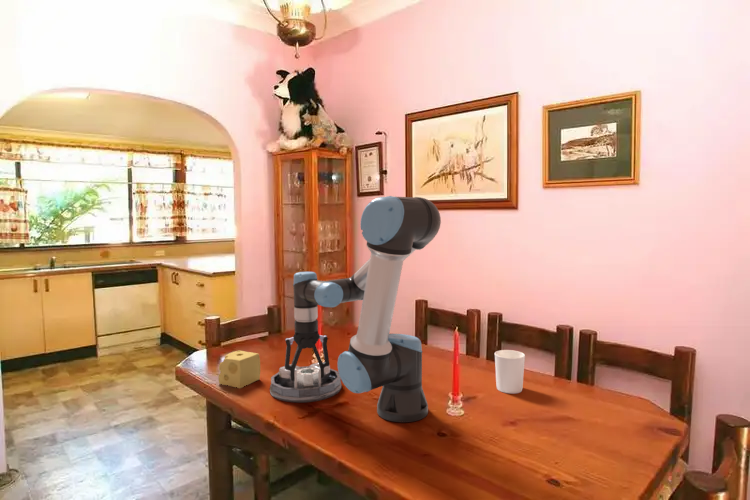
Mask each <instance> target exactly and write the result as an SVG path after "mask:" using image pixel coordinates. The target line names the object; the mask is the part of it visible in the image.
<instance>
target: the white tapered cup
mask: <svg viewBox="0 0 750 500" xmlns="http://www.w3.org/2000/svg"><path fill="white" fill-rule="evenodd" d="M525 359H526V355H525V353H523V352H522V351H518V350H513V349H501V350H500V349H499V350H497V351H495V352H494V364H495V366H494V369H495V382H496V383H495V384H496V390H498V391H499V392H501V393H504V394H514V395H515V394H519V393H521V392H522V391H523V385H524V374H525V373H524V371H525Z"/></svg>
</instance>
